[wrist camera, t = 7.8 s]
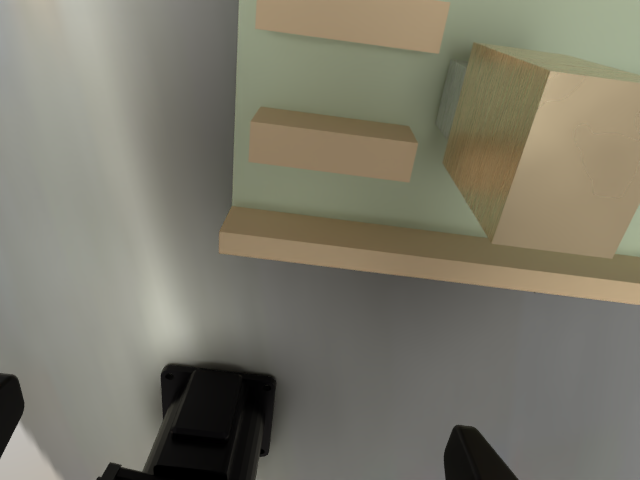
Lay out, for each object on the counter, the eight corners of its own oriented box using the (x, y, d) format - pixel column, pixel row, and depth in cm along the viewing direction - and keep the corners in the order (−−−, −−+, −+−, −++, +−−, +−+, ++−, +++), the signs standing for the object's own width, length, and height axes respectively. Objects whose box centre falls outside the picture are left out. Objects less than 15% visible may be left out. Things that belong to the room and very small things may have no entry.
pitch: (785, 284, 23) (856, 331, 20) (235, 216, 22) (218, 253, 19) (1027, -49, 16) (1192, -60, 13) (250, -165, 15) (228, -204, 12)
